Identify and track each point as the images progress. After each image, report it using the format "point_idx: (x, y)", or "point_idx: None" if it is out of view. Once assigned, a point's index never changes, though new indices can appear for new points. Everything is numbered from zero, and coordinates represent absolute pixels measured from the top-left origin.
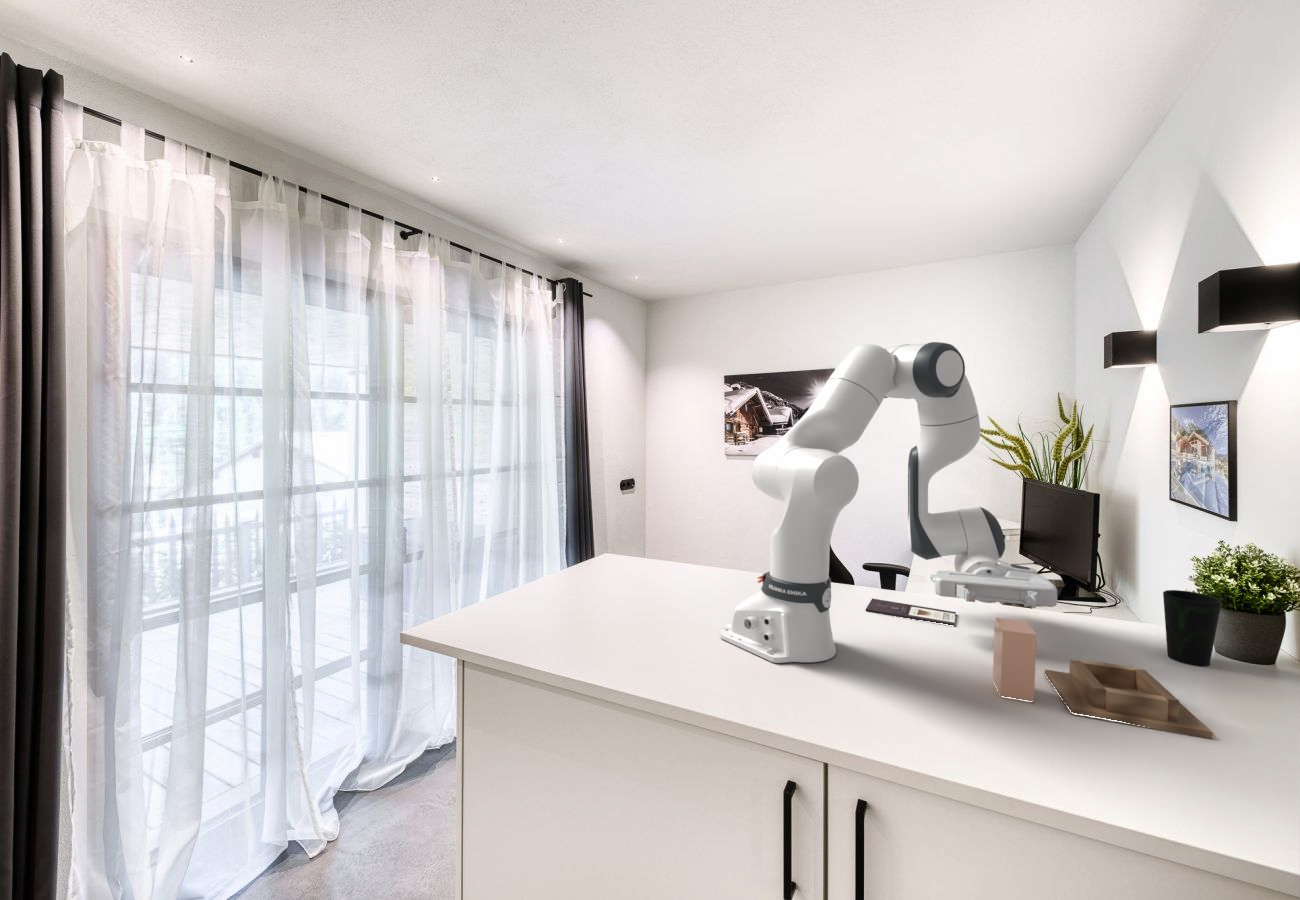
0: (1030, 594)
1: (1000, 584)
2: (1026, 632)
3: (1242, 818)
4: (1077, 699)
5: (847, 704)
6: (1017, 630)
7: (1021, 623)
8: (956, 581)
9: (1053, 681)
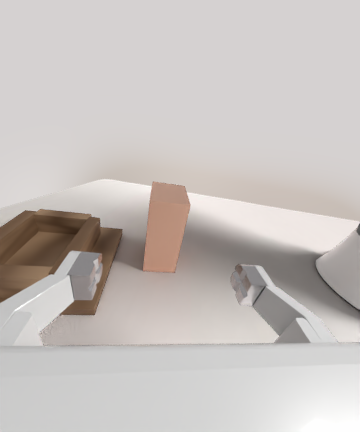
0: (51, 287)
1: (160, 348)
2: (161, 183)
3: (96, 187)
4: (106, 241)
5: (256, 221)
6: (169, 186)
7: (159, 196)
8: (352, 343)
9: (106, 272)
